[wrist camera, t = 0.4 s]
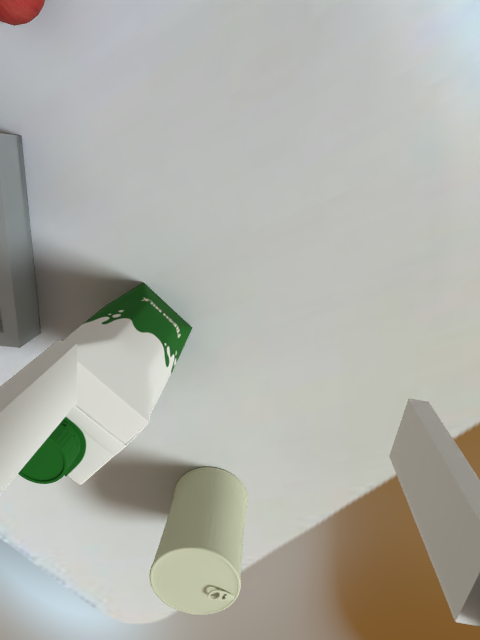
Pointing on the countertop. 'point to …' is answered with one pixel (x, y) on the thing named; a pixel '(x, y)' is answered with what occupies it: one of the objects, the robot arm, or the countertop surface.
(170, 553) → the can
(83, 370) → the milk carton
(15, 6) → the onion
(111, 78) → the countertop surface
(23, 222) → the tray
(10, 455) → the robot arm
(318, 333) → the countertop surface
